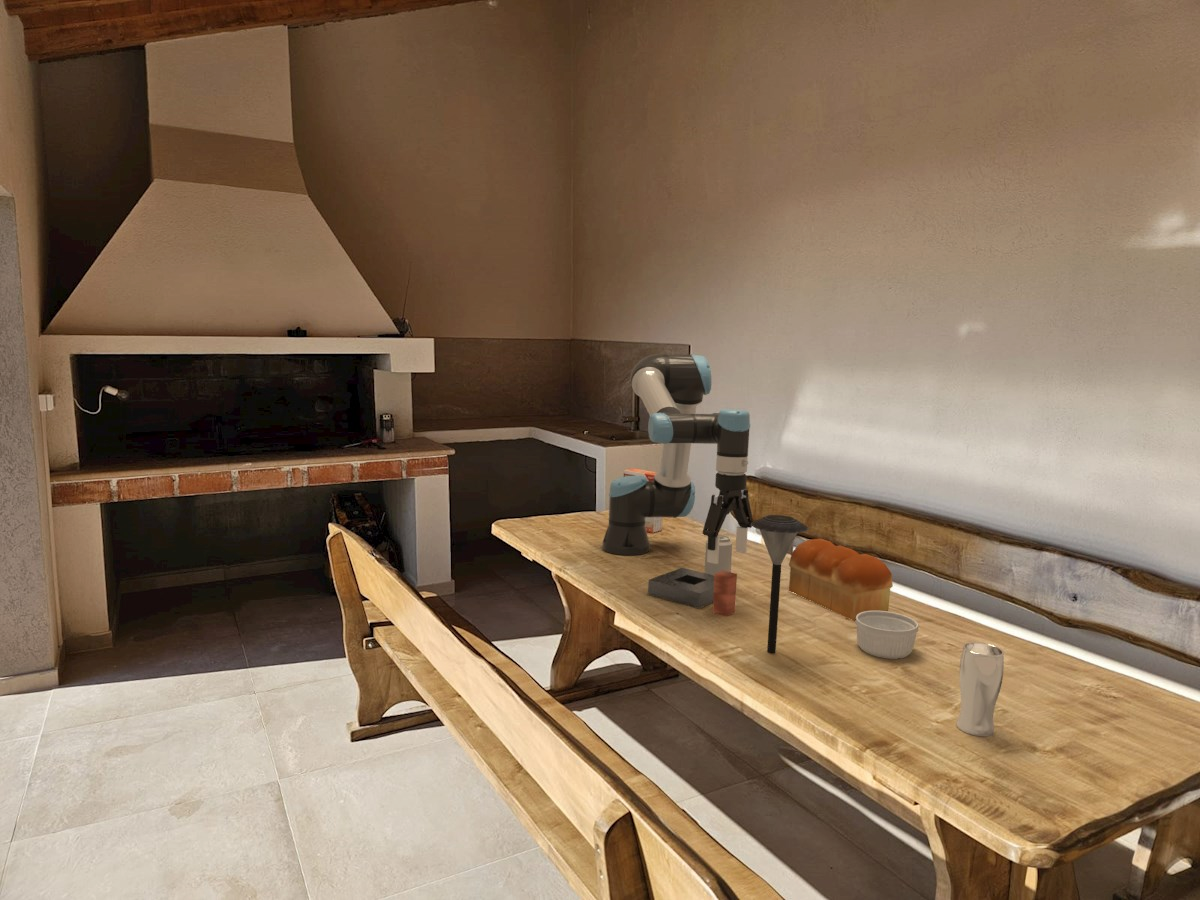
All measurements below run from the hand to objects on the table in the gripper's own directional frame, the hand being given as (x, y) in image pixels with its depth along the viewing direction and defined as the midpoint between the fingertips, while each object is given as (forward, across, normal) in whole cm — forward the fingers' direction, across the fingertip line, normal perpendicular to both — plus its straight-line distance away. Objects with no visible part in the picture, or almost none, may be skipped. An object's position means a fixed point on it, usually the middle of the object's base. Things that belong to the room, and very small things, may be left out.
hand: (727, 557), depth 200 cm
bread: (+14, +28, -17) cm, 36 cm away
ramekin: (+15, +4, -39) cm, 42 cm away
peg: (+14, 0, 0) cm, 14 cm away
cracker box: (+13, +56, +67) cm, 89 cm away
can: (+14, +25, +17) cm, 34 cm away
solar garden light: (+15, -15, -21) cm, 29 cm away
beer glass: (+15, -22, -65) cm, 70 cm away
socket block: (+14, +6, +14) cm, 21 cm away
